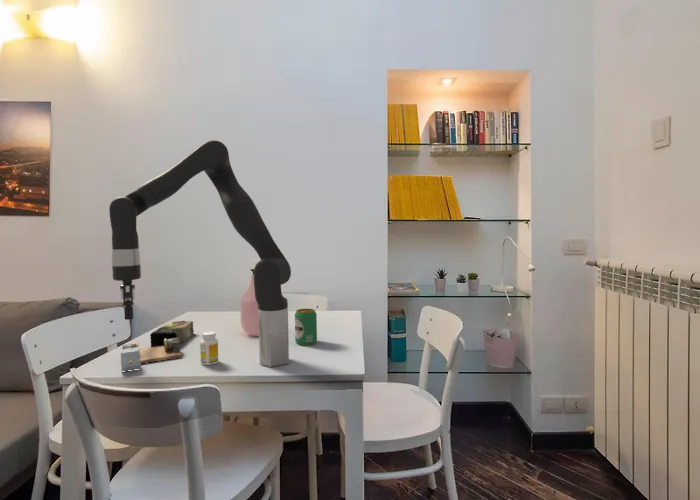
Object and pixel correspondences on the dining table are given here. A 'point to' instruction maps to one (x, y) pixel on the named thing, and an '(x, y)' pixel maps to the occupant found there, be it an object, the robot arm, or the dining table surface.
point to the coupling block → (130, 359)
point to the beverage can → (305, 327)
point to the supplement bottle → (209, 348)
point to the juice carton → (173, 331)
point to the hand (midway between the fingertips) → (129, 316)
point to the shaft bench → (159, 351)
